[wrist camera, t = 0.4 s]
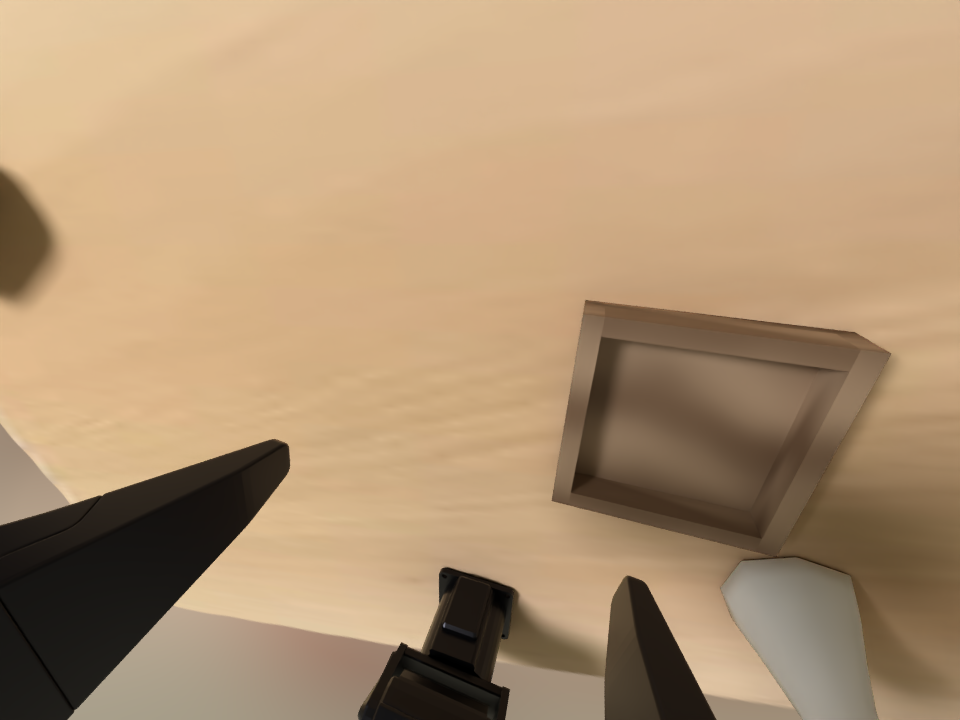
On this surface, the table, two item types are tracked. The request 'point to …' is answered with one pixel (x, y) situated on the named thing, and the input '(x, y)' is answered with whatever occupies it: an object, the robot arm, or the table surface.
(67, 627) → the robot arm
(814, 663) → the flask
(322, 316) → the table surface
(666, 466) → the tray
